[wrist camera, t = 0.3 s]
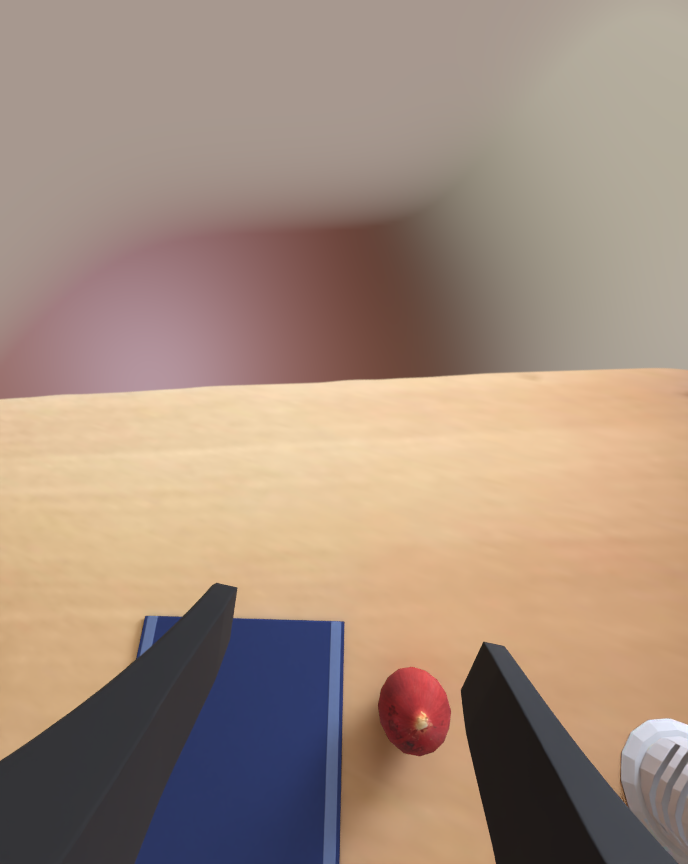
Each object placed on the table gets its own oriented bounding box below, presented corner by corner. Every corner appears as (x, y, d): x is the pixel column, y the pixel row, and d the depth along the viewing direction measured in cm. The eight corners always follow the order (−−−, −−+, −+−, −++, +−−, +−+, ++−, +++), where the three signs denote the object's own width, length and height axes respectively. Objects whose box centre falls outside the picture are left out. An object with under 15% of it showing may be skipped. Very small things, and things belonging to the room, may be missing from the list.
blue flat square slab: (338, 909, 28) (338, 914, 28) (88, 895, 29) (84, 899, 29) (344, 621, 36) (344, 622, 36) (147, 615, 37) (144, 616, 37)
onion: (419, 751, 32) (438, 801, 25) (364, 706, 33) (366, 740, 26) (450, 686, 34) (476, 714, 26) (397, 646, 35) (407, 662, 28)
